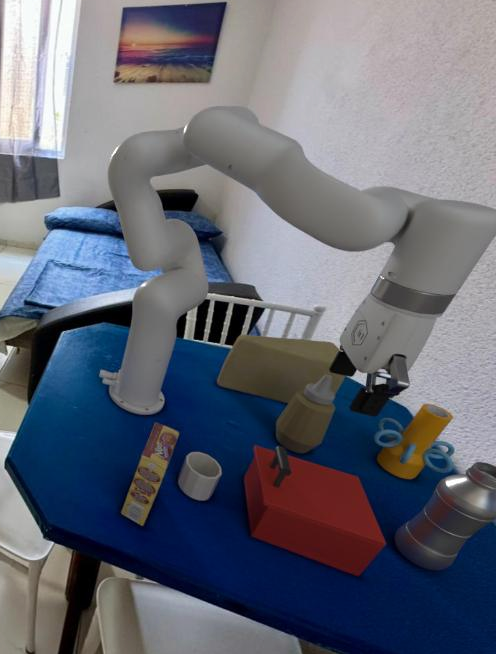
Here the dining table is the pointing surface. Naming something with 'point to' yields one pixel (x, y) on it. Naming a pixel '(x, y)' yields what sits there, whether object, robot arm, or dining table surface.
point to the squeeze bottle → (306, 417)
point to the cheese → (277, 366)
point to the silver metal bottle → (450, 518)
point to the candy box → (150, 473)
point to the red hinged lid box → (305, 533)
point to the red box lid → (316, 494)
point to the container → (199, 476)
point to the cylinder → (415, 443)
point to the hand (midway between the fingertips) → (350, 392)
